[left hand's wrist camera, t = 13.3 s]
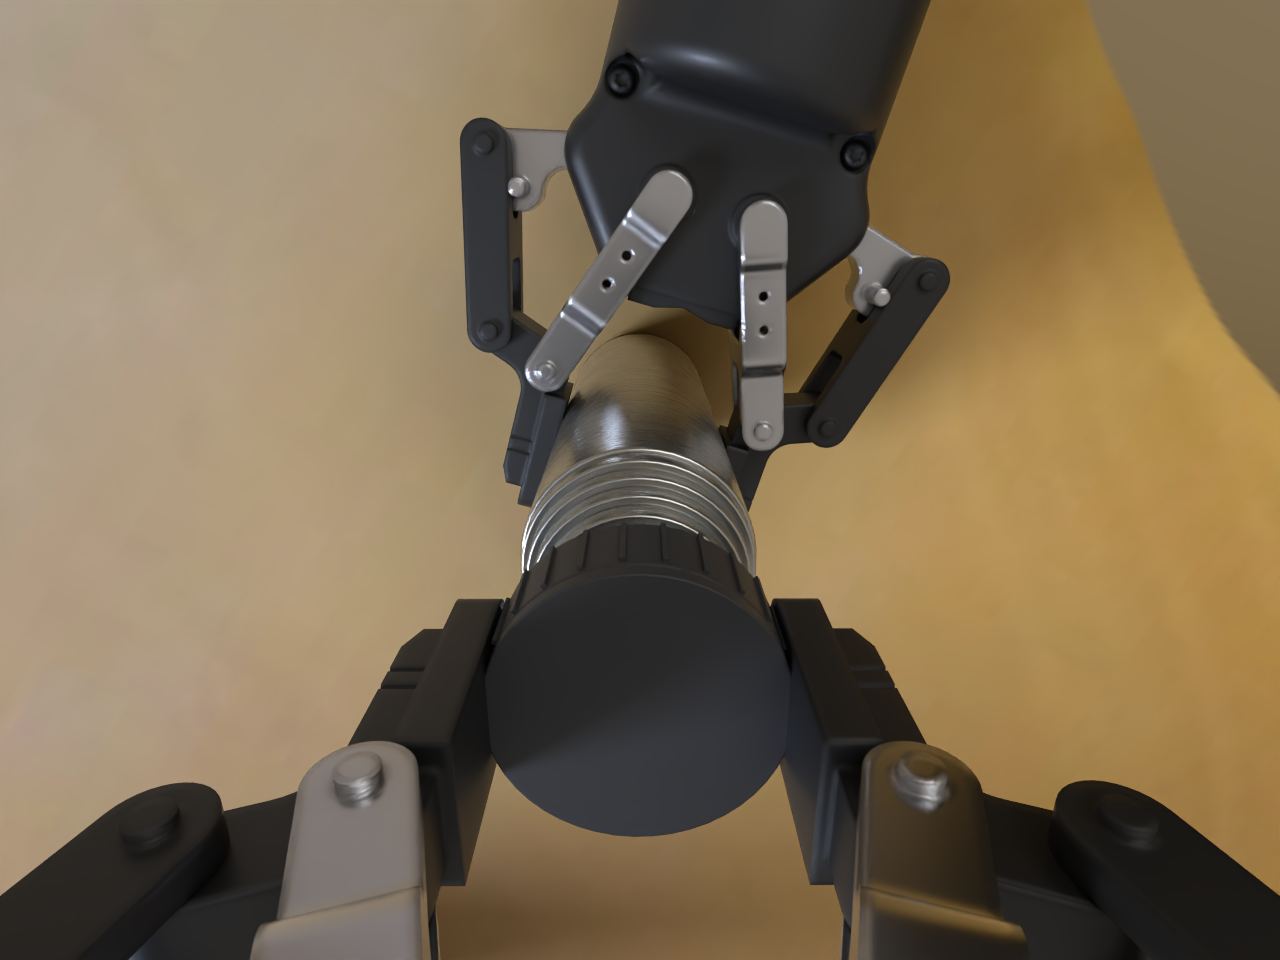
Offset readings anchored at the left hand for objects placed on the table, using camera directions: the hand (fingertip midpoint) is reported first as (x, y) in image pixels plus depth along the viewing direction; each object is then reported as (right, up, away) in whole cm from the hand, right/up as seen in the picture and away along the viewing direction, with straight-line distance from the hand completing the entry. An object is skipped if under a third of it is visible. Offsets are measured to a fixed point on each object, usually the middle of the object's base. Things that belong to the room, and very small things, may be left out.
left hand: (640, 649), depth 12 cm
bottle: (0, +6, +16) cm, 17 cm away
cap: (0, -1, -1) cm, 1 cm away
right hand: (-1, +2, +12) cm, 12 cm away
